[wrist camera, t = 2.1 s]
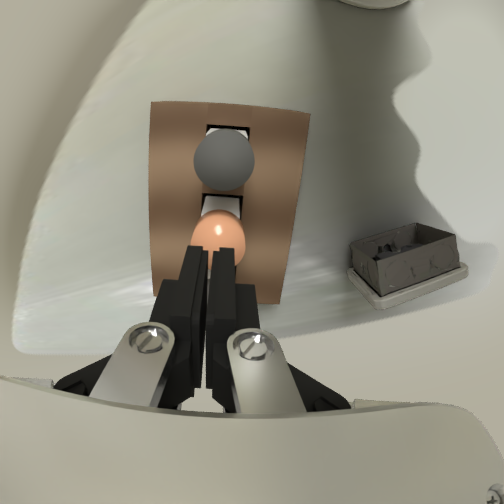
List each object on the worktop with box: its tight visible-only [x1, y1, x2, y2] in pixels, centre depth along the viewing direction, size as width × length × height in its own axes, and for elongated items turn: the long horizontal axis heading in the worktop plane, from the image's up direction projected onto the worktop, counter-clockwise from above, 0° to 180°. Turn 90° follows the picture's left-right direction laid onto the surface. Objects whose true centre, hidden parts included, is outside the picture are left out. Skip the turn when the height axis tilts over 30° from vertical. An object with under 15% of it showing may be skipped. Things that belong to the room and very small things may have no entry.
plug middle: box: [191, 196, 245, 270], centre depth 21 cm, size 3×3×6 cm
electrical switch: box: [347, 223, 468, 310], centre depth 25 cm, size 9×5×9 cm, turn 107°
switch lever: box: [193, 128, 255, 191], centre depth 18 cm, size 3×3×6 cm
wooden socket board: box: [149, 101, 310, 304], centre depth 25 cm, size 16×11×4 cm
